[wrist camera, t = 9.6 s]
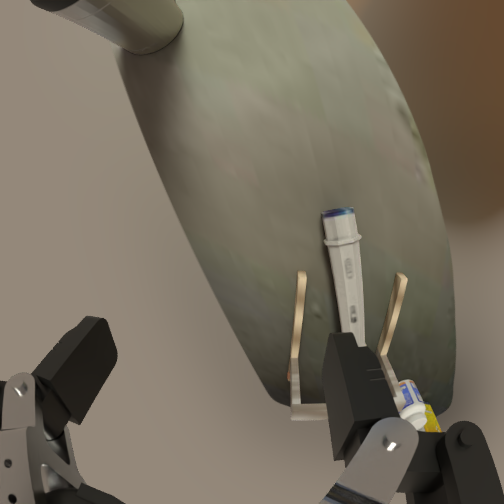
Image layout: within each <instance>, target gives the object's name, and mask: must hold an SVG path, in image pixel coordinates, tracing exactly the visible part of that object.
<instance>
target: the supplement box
mask: <svg viewBox="0 0 504 504" xmlns="http://www.w3.org/2000/svg"><path fill="white" fill-rule="evenodd" d="M423 402H424V401H423ZM424 404H425V407H426V410H425V413H424V414H425V415H426V418H427V422H426V424H425V425H424V426H423V427H422V428H420V429H418V431H423V432H442V431H441V429H440V427H439V424H438V422H437V420H436V417H435V415H434V413H433V411H432V409H431V406H430V404H429V403H428V402H424Z"/></svg>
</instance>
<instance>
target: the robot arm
mask: <svg viewBox="0 0 504 504" xmlns="http://www.w3.org/2000/svg"><path fill="white" fill-rule="evenodd" d="M30 1H31V2H32V3H33V4H34V5H35V6H37V7H39V8H41V9H44V10H46V11H49V12H51V13H53V14H56V15H58V16H60V17H63V18H65V19H67V20H70V21H72V22H74V23H76V24H78V25H80V26H82V27H84V28H86V29H88V30H90V31H92V32H94V33H96V34H98V35H100V36H102V37H104V38H106V39H108V40H109V41H111V42H113V43H115V44H117V45H118V46H120V47H122V48H124V49H126V50H127V51H129V52H131V53H134V54H139V55H143V54H149V53H153V52H155V51H157V50H160V49H162V48H163V47H164V46H166V45H167V44H169V43H170V42H171V41H172V40H173V39H174V38H175V36H176V35H177V34H178V32H179V31H180V29H181V26H182V23H183V14H182V11H181V10H180V8H179V7H178V5H177V4H176V3H175V0H30ZM116 362H117V349H116V346H115V343H114V340H113V337H112V334H111V331H110V328H109V325H108V322H107V321H106V319H104V318H99V317H93V316H86V317H85V318H84V319H83V320H82V321H81V322H80V323H79V324H78V325H77V326H76V327H75V328H73V329H72V330H70V331H68V332H67V333H66V334H65V335H64V336H63V337H62V338H61V339H60V341H59V343H57V344H56V345H55V346H54V347H53V350H51V351H50V352H49V353H48V354H47V355H46V357H45V358H44V359H43V360H42V361H41V363H40V364H39V365H38V366H37V367H36V369H35V370H34V371H33V372H32V373H31V374H29V373H18V374H16V375H14V376H12V377H11V378H10V379H9V380H8V381H6V382H5V381H0V504H125V503H123V502H121V501H120V500H119V499H117V498H115V497H114V496H112V495H110V494H107V493H104V492H102V491H100V490H97V489H95V488H93V487H90V486H88V485H86V483H85V481H84V479H83V478H82V477H81V475H80V473H79V471H78V469H77V466H76V461H75V457H74V453H73V448H72V443H71V438H70V433H69V429H68V427H67V425H66V424H67V423H68V421H71V422H73V423H76V424H78V425H80V424H81V423H82V421H83V419H84V417H85V415H86V414H87V412H88V410H89V408H90V407H91V405H92V403H93V401H94V400H95V398H96V396H97V395H98V393H99V391H100V389H101V388H102V386H103V384H104V383H105V381H106V379H107V378H108V376H109V374H110V373H111V371H112V369H113V368H114V366H115V364H116ZM381 368H382V367H381V365H380V362H379V360H378V358H377V356H376V355H375V354H374V353H373V352H372V351H371V350H370V349H369V348H368V347H367V346H363V347H358V344H357V342H356V339H355V336H354V334H353V333H352V332H341V333H330V334H329V338H328V343H327V348H326V353H325V358H324V363H323V368H322V382H323V388H324V394H325V401H326V407H327V414H328V420H329V427H330V434H331V442H332V448H333V457H334V461H336V460H344V461H345V468H346V469H345V470H344V472H343V473H342V475H341V476H340V477H339V479H338V480H337V482H336V483H335V484H334V486H333V487H332V488H331V489H330V491H329V492H328V493H327V494H326V496H325V497H324V498H323V499H322V501H321V502H320V503H319V504H389V503H390V501H391V499H392V498H393V496H394V494H395V492H401V493H405V494H406V500H407V504H504V494H503V490H502V487H501V483H500V480H499V477H498V474H497V470H496V467H495V464H494V461H493V458H492V456H491V453H490V450H489V448H488V445H487V443H486V440H485V437H484V435H483V433H482V431H481V429H480V428H479V427H478V426H477V425H475V424H474V423H472V422H469V421H460V422H457V423H455V424H453V425H452V426H451V427H450V428H449V429H448V430H447V431H446V432H423V431H418V430H416V428H415V427H414V426H413V425H412V424H411V423H410V422H408V421H407V420H405V419H402V418H401V417H400V415H399V412H398V409H397V407H396V404H395V401H394V398H393V396H392V393H391V390H390V388H389V385H388V383H387V380H385V375H384V372H383V370H381Z"/></svg>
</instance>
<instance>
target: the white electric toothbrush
mask: <svg viewBox="0 0 504 504" xmlns="http://www.w3.org/2000/svg"><path fill="white" fill-rule="evenodd" d="M321 215H322V220H323V225H324V231H325V236H326V239H324V240H323V241H324V244H325V245H327V247H328V252H329V257H330V263H331V268H332V273H333V279H334V285H335V291H336V297H337V303H338V310H339V316H340V323H341V331H342V332H352V333H353V334H354V336H355V339H356V342H357V344H358V347H363V346H367V345H366V344H365V330H364V301H363V283H362V270H361V258H360V248H359V239H361V235H359V234H358V232H357V226H356V220H355V214H354V208H353V207H345V208H339V209H333V210H328V211H324V212H321Z"/></svg>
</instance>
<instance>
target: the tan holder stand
mask: <svg viewBox="0 0 504 504" xmlns="http://www.w3.org/2000/svg"><path fill="white" fill-rule="evenodd" d="M306 279H307V277H306V272H305V271H298V272H297V285H296V298H295V310H294V321H293V331H292V341H291V351H290V360H289V369H288V374H287V379H288V381H290V390H291V420H327V419H328V414H327V407H326V403H325V404H301V401H300V383H299V367H298V353H299V345H300V337H301V328H302V320H303V310H304V301H305V290H306ZM407 280H408V279H407V278H406V277H405V275H404V274H403V273H396V276H395V280H394V285H393V290H392V294H391V298H390V303H389V307H388V311H387V314H386V318H385V322H384V326H383V329H382V333H381V336H380V340H379V343H378V346H377V349H376V353H375V355H376V356H377V358H378V360H379V362H380V365H381V367H382V368H381V370H383V372H384V375H385V380H387V383H388V385H389V388H390V390H391V393H392V396H393V398H394V401H395V404H396V407H397V409H398V412H401V411H402V409H403V407H404V405H405V404H406V400H405V398H404V395H403V393H402V391H401V388H400V386H399V383H398V381H397V379H396V376H395V374H394V372H393V369H392V367H391V365H390V362H389V360H388V358H387V356H386V354H387V351H388V348H389V345H390V342H391V339H392V336H393V332H394V329H395V326H396V322H397V319H398V315H399V312H400V308H401V304H402V300H403V297H404V292H405V288H406V284H407Z"/></svg>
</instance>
